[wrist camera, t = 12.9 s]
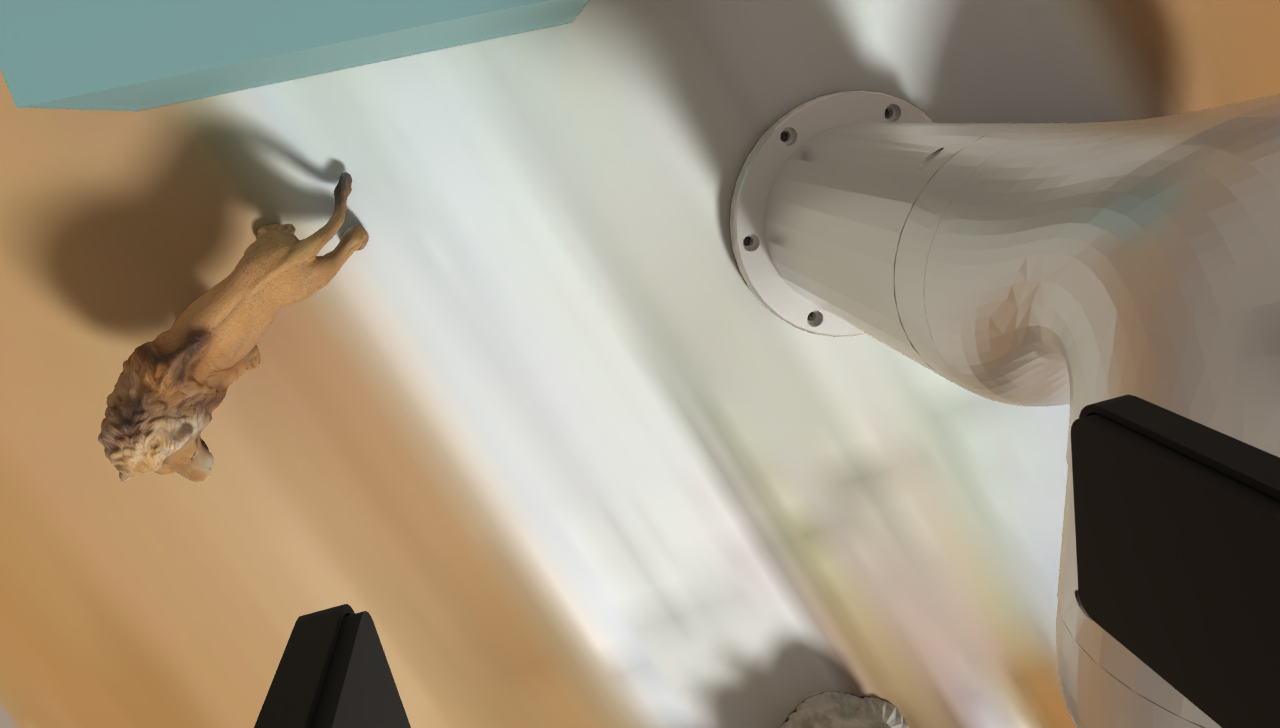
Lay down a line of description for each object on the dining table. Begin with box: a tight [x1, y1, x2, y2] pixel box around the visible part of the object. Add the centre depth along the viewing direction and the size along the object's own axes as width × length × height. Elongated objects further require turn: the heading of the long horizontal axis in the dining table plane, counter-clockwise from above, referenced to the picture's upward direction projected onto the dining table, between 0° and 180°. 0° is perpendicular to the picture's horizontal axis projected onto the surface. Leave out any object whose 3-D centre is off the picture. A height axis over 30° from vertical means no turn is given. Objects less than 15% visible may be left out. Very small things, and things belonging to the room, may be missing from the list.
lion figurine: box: [98, 172, 369, 482], centre depth 36 cm, size 15×5×9 cm, turn 144°
